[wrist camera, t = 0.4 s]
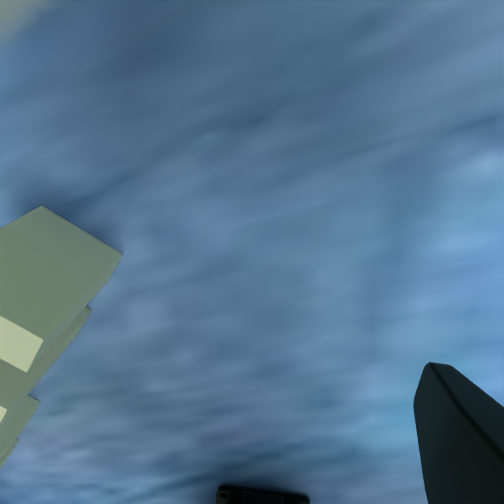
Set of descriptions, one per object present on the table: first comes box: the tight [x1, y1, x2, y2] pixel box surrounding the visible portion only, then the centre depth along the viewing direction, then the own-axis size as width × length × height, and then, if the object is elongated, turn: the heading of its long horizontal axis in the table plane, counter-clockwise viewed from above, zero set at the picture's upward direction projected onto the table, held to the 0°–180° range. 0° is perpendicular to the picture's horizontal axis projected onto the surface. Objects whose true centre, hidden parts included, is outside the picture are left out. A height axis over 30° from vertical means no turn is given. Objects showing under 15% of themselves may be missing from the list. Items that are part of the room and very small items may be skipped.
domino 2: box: [0, 307, 91, 428], centre depth 22 cm, size 2×5×8 cm, turn 57°
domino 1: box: [0, 205, 123, 373], centre depth 20 cm, size 2×5×8 cm, turn 57°
